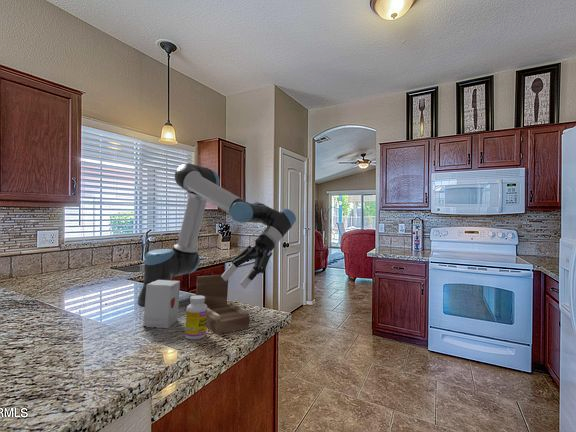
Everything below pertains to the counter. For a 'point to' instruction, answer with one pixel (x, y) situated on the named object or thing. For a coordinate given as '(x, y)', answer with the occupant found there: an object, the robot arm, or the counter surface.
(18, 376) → the counter surface
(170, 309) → the supplement box
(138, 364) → the counter surface
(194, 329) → the supplement bottle
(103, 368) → the counter surface
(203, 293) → the display stand
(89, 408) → the counter surface
